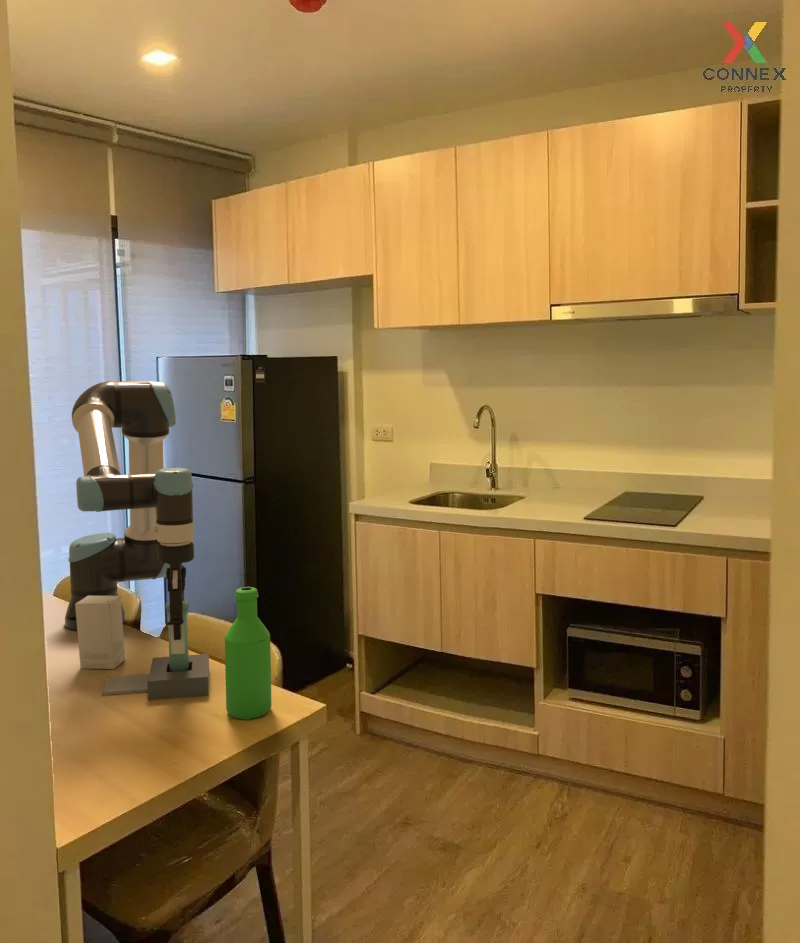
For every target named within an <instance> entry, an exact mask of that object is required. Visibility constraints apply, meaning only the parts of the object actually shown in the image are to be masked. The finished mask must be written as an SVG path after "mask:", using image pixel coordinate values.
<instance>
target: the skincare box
mask: <svg viewBox="0 0 800 943" xmlns="http://www.w3.org/2000/svg"><path fill="white" fill-rule="evenodd" d="M121 597H122V596H121V595H119V596H87V597H85V598H84V599H82V600H81V601H79V602H77V603H76V604H75V608H76V620H77V630H76V632H77V643H78V652H79V653H78V654H79V665H80V669H82V670H83V669H85V670H86V669H89V670H91V669H93V670H114V669H116V668H117V667H118V666H119V665H121V664H122V663H123V662H124V661H125V660H126V653H125V652H126V651H125V639H124V638H125V636H124V627H123V625H124V622H122V609H121V602H122V598H121Z"/></svg>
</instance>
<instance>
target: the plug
mask: <svg viewBox="0 0 800 943" xmlns="http://www.w3.org/2000/svg"><path fill="white" fill-rule="evenodd" d="M189 608H190V602H189V601H187V600H185V599H184V600H183V620H184V642H185V653H183V654H171V627H170V625H167V629H168V630H167V631H168V657H169V667H170V672H177V671H189V655H190V654H189V627H188V624H189V623H188V615H187V611H188V610H189ZM165 611H167V622H170V601H167V602H166V603H165Z"/></svg>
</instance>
